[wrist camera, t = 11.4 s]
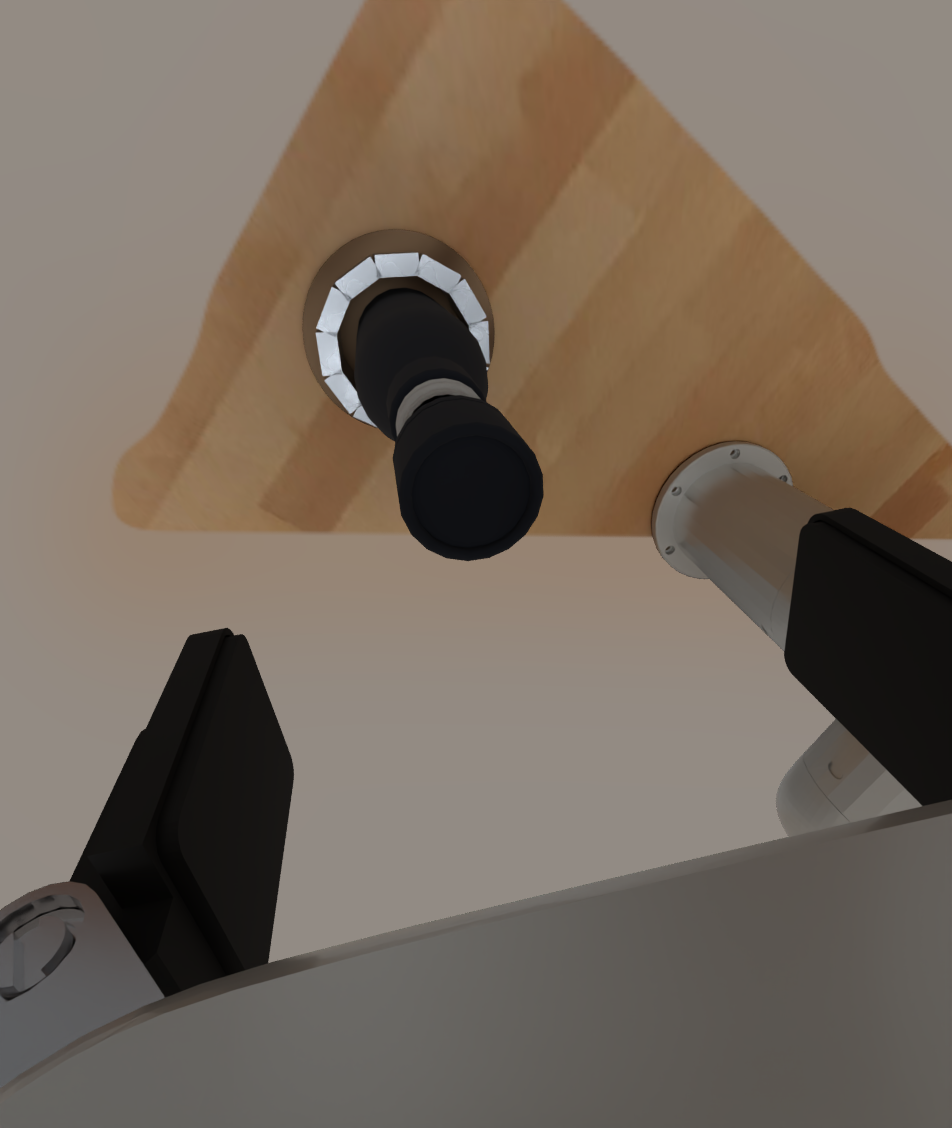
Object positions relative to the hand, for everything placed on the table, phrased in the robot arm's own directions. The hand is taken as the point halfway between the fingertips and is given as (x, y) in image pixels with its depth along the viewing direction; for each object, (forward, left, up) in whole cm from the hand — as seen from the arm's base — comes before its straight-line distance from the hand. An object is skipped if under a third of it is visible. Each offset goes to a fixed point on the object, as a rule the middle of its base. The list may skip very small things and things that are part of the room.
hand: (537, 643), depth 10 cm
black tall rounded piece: (0, 0, -37) cm, 37 cm away
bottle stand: (0, 0, -38) cm, 38 cm away
